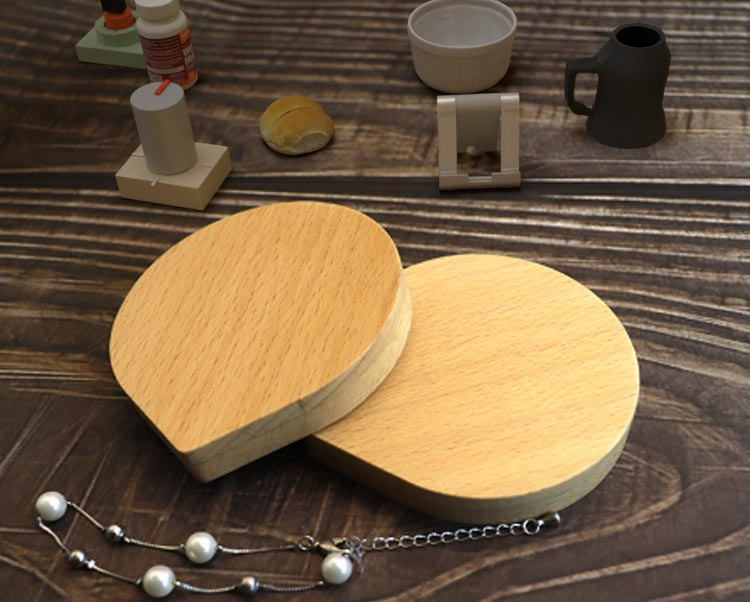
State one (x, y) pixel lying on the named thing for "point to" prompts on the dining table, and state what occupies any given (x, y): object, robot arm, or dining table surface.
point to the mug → (625, 87)
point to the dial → (164, 127)
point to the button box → (112, 45)
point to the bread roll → (296, 125)
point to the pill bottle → (166, 42)
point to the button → (119, 19)
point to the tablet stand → (478, 137)
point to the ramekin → (461, 43)
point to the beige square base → (176, 179)
